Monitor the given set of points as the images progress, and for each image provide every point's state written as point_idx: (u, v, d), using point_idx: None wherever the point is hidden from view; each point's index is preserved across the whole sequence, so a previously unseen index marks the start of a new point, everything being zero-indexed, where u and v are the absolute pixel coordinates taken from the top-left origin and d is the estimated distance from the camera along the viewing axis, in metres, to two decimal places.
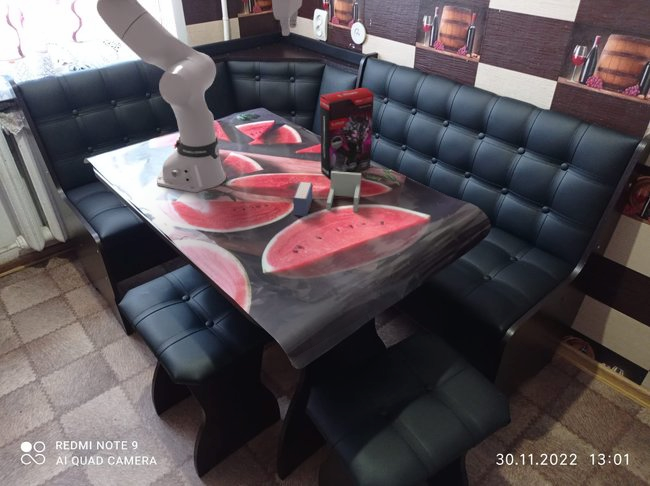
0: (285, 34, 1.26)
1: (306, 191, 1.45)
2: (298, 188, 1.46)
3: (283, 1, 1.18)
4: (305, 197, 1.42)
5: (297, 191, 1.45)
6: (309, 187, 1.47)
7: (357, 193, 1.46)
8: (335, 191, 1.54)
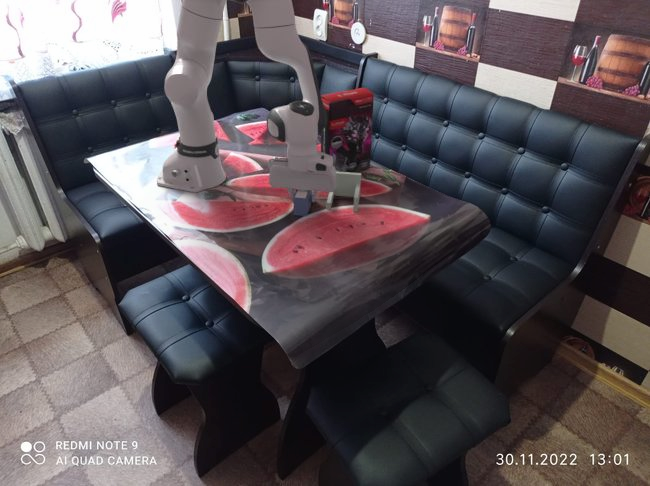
0: (314, 200, 1.47)
1: (306, 191, 1.45)
2: None
3: (336, 176, 1.42)
4: (305, 197, 1.42)
5: (297, 191, 1.45)
6: None
7: (357, 193, 1.46)
8: (335, 191, 1.54)
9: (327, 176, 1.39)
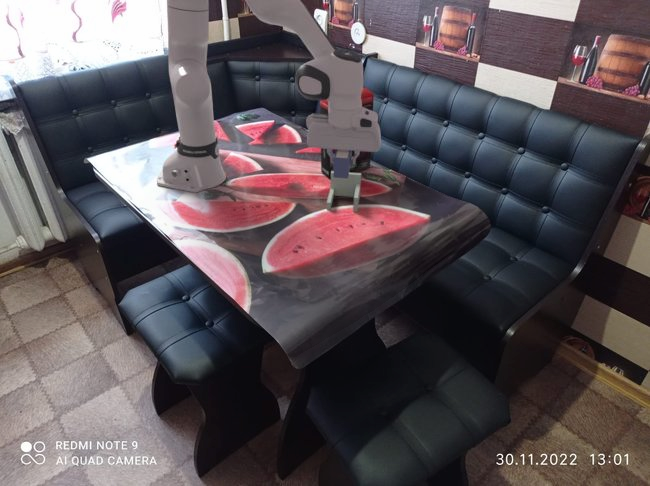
0: None
1: (347, 151, 1.33)
2: None
3: (380, 134, 1.30)
4: (347, 157, 1.30)
5: (337, 151, 1.33)
6: None
7: (357, 193, 1.46)
8: (335, 191, 1.54)
9: (371, 134, 1.28)
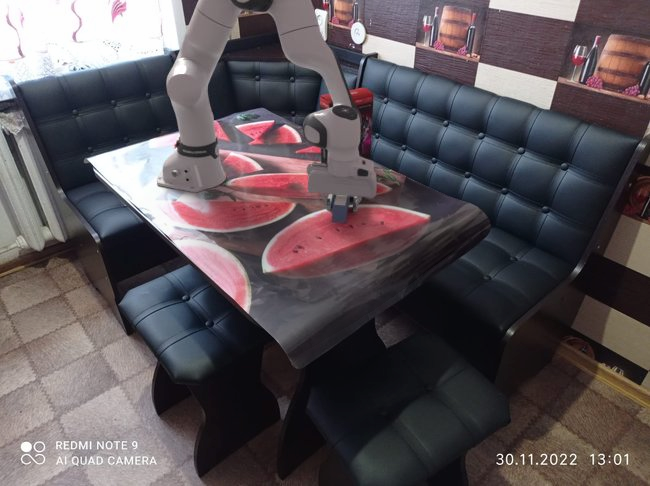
0: (357, 206, 1.44)
1: (345, 198, 1.42)
2: (336, 195, 1.43)
3: (376, 181, 1.39)
4: (345, 204, 1.39)
5: (336, 198, 1.42)
6: None
7: None
8: None
9: (368, 182, 1.36)
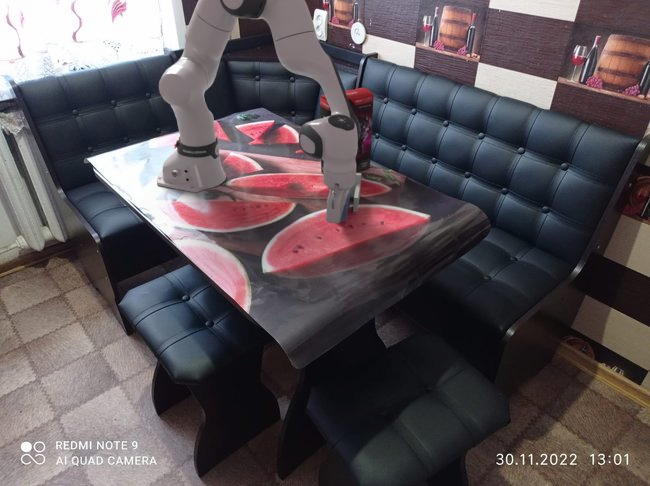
0: None
1: None
2: None
3: None
4: (345, 203, 1.39)
5: None
6: None
7: (357, 193, 1.46)
8: None
9: None
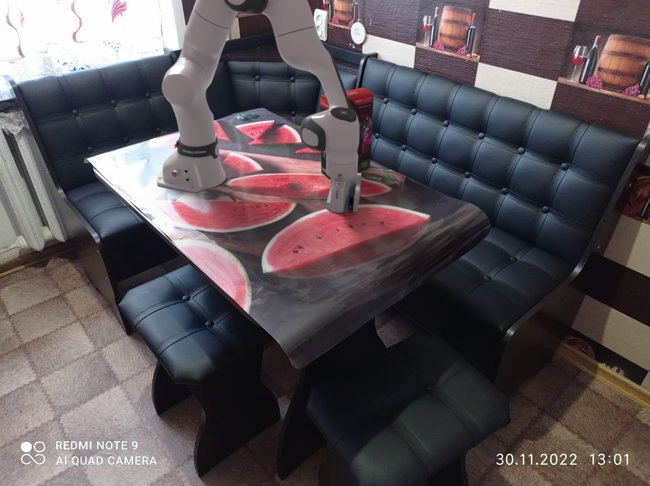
0: None
1: None
2: None
3: None
4: None
5: None
6: (349, 184, 1.48)
7: (357, 193, 1.46)
8: None
9: None
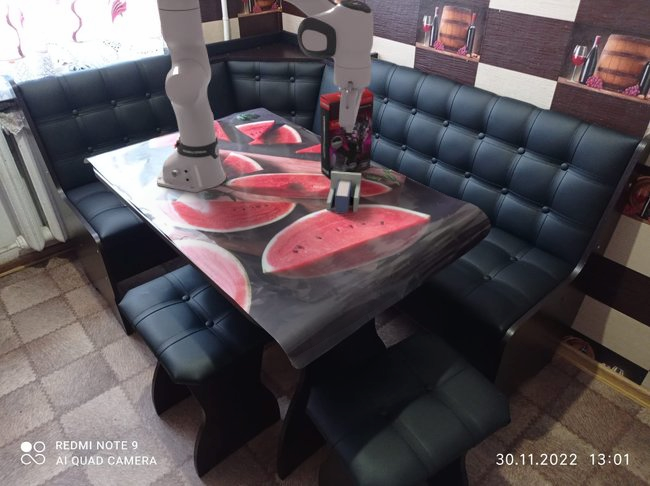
0: None
1: (347, 189, 1.46)
2: (338, 186, 1.48)
3: None
4: (347, 195, 1.43)
5: (338, 189, 1.46)
6: (349, 185, 1.48)
7: (357, 193, 1.46)
8: (335, 191, 1.54)
9: None
